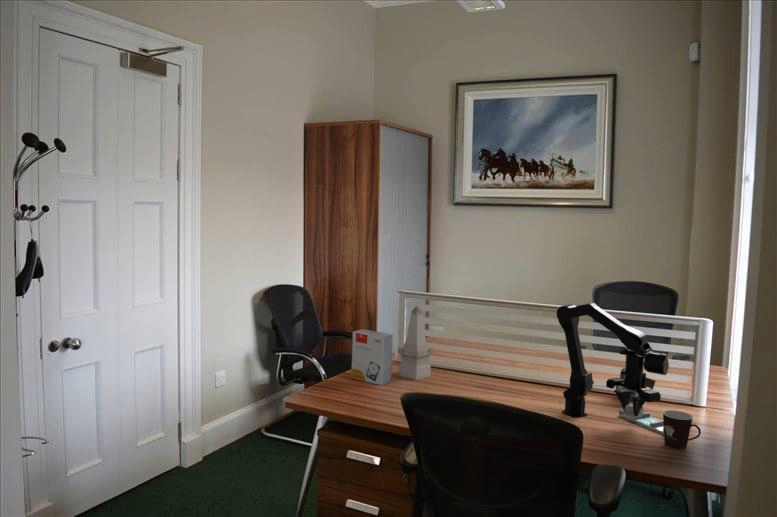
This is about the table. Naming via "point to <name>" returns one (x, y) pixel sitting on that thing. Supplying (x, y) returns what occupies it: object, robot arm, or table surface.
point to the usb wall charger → (632, 412)
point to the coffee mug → (677, 429)
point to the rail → (646, 422)
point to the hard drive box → (371, 356)
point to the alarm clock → (623, 378)
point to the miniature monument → (415, 349)
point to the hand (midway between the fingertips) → (630, 414)
